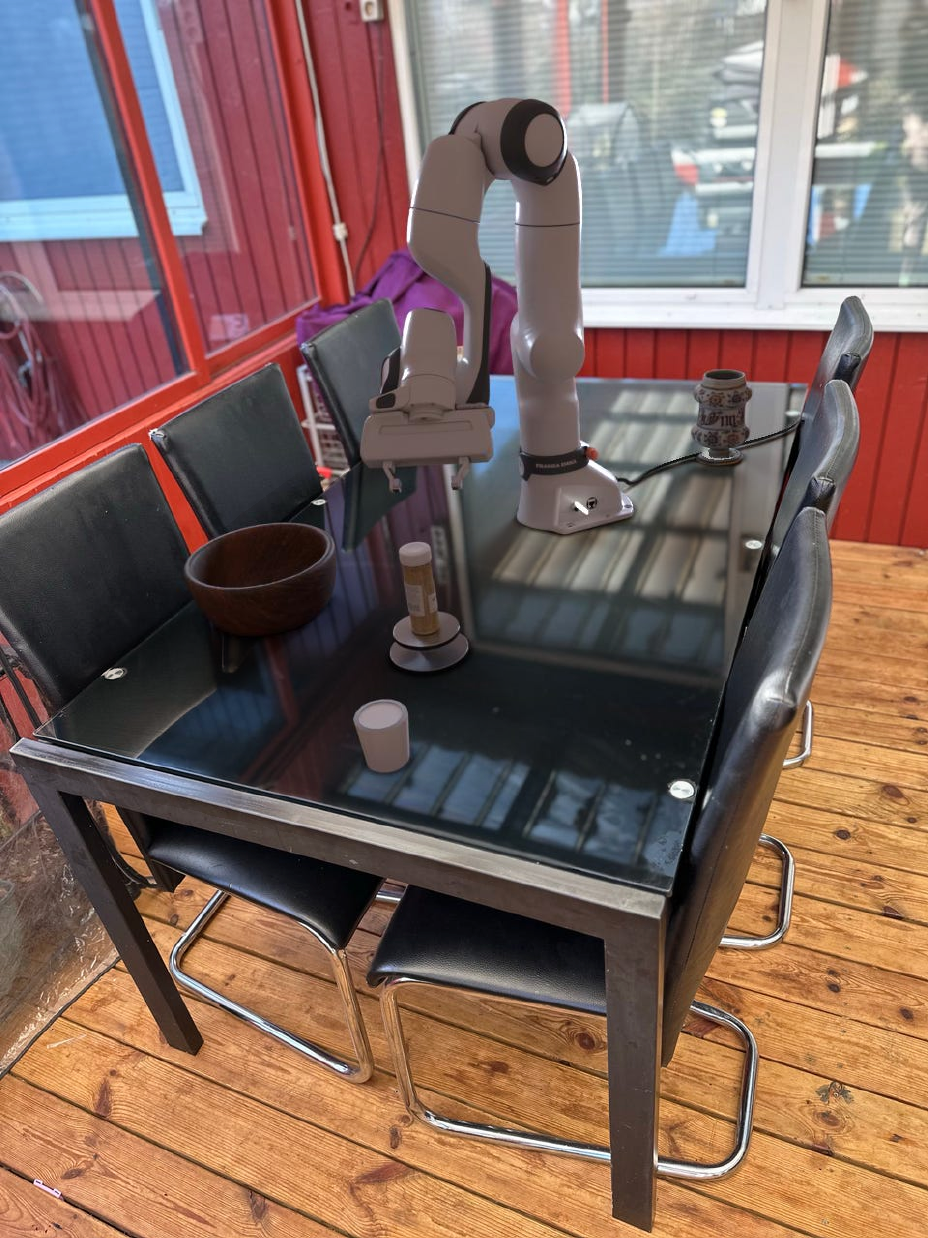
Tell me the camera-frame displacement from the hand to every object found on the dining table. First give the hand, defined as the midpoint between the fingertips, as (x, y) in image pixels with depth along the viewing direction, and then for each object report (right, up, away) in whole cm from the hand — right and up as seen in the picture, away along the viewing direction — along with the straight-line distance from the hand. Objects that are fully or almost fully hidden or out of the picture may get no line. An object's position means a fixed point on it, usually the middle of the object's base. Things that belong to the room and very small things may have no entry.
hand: (425, 490), depth 133 cm
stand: (+1, -24, +2) cm, 25 cm away
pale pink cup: (-4, -38, -19) cm, 42 cm away
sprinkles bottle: (0, -21, 0) cm, 21 cm away
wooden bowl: (-27, -18, +19) cm, 37 cm away
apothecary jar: (+61, +15, +58) cm, 85 cm away
